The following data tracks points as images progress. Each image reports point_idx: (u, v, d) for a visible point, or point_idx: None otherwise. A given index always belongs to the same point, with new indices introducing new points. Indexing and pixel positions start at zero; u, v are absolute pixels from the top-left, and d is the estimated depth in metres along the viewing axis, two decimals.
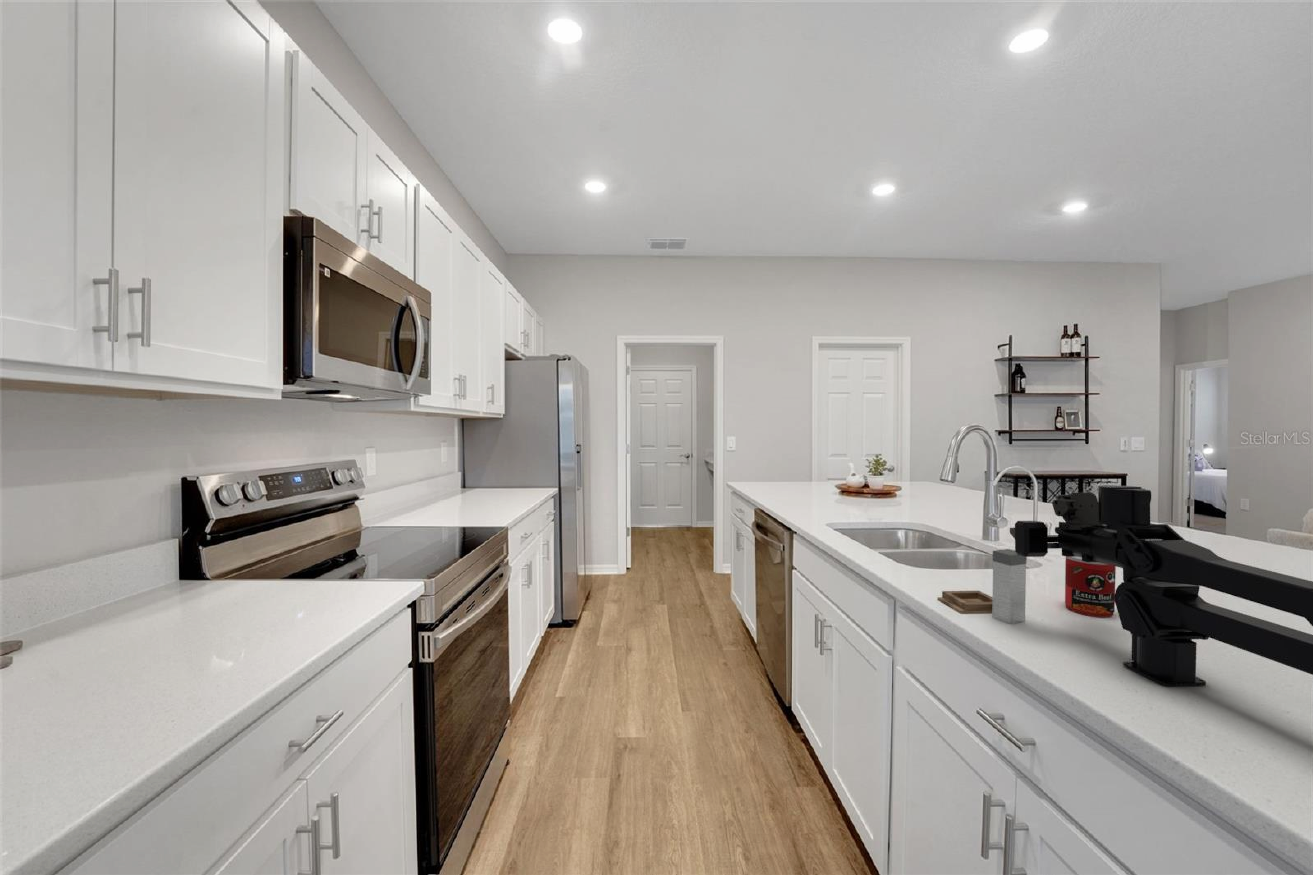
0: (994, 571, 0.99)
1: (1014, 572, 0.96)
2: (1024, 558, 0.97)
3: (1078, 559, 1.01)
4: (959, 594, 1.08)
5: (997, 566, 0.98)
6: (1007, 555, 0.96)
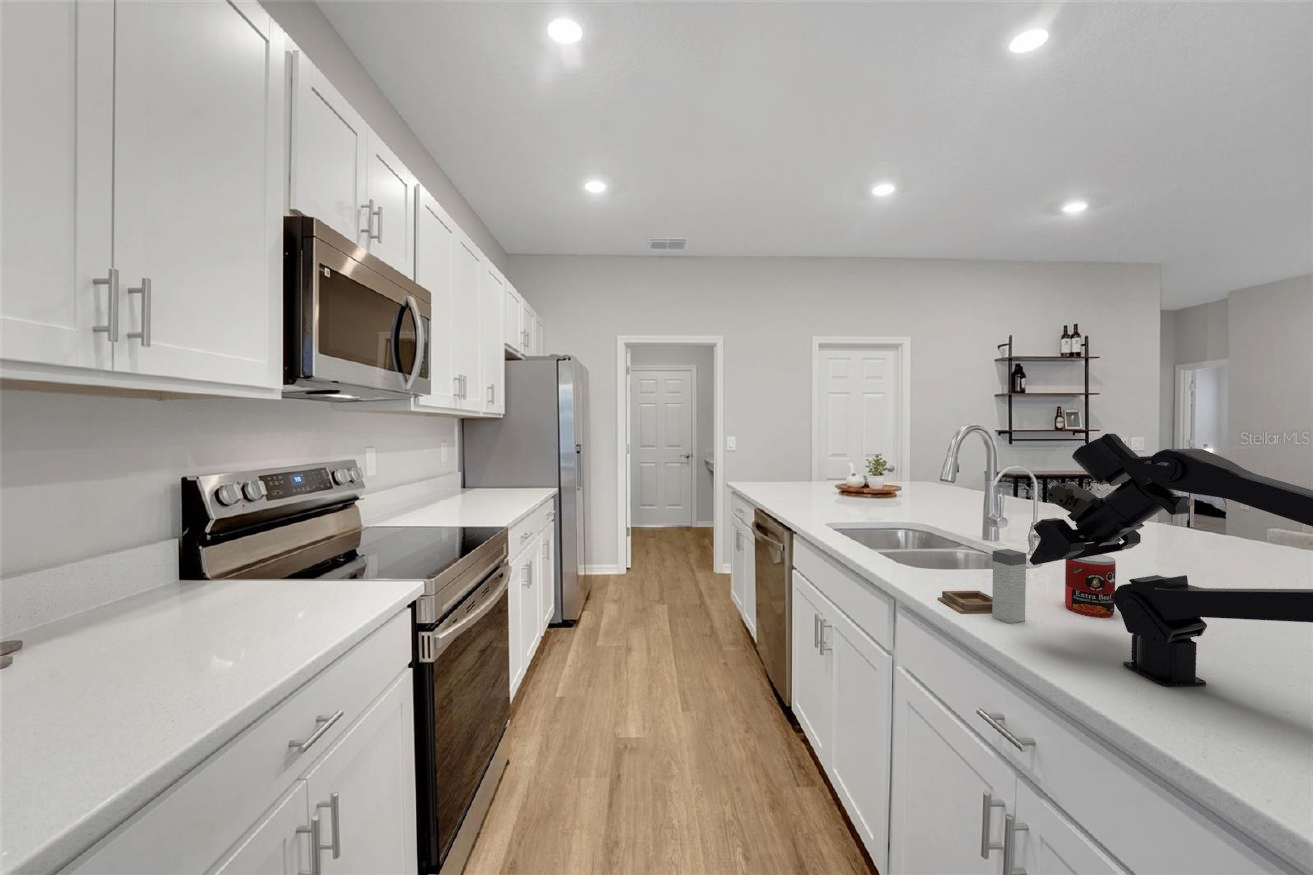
0: (994, 571, 0.99)
1: (1014, 572, 0.96)
2: (1024, 558, 0.97)
3: (1078, 559, 1.01)
4: (959, 594, 1.08)
5: (997, 566, 0.98)
6: (1007, 555, 0.96)
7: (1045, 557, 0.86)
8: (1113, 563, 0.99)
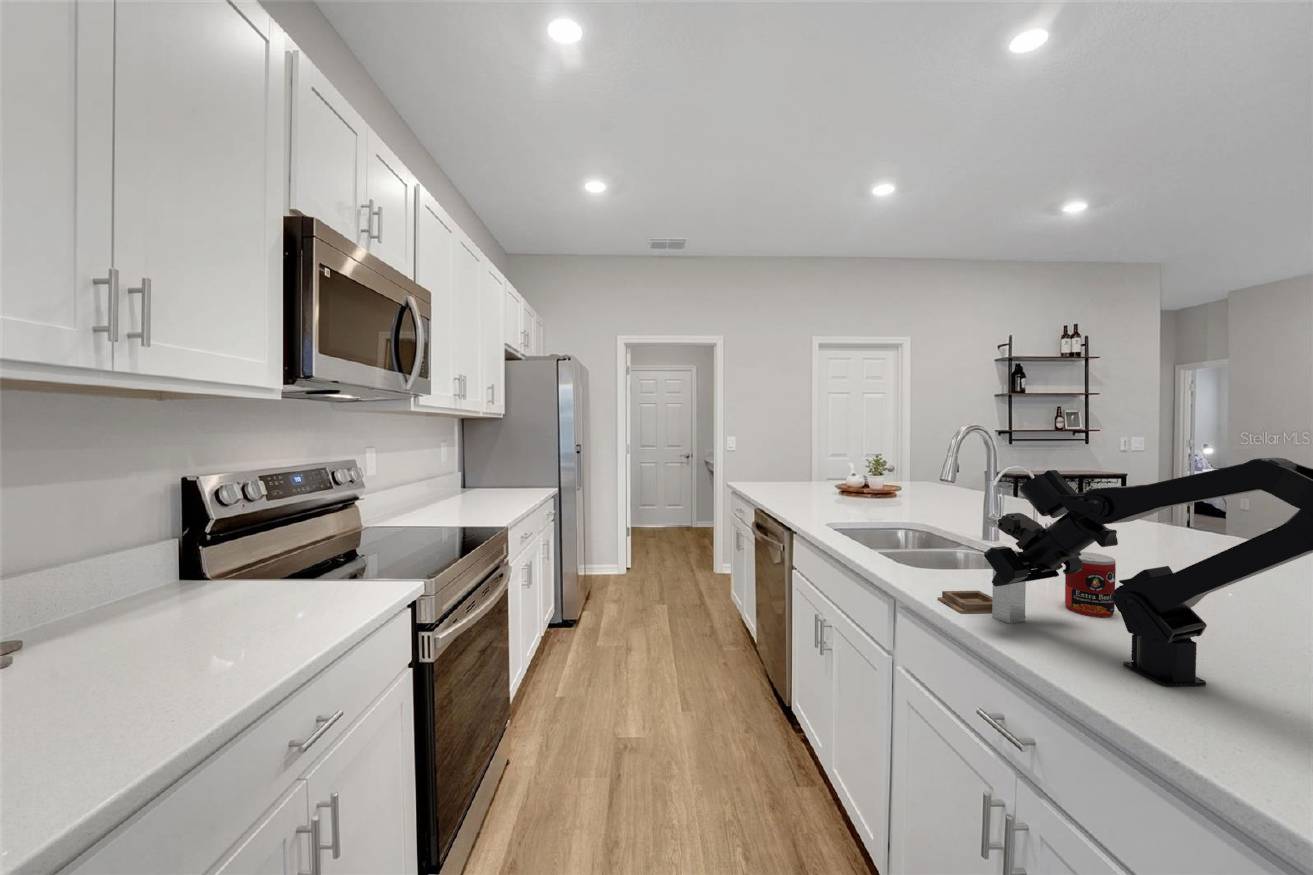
0: (994, 571, 0.99)
1: None
2: None
3: None
4: (959, 594, 1.08)
5: None
6: None
7: None
8: (1113, 563, 0.99)
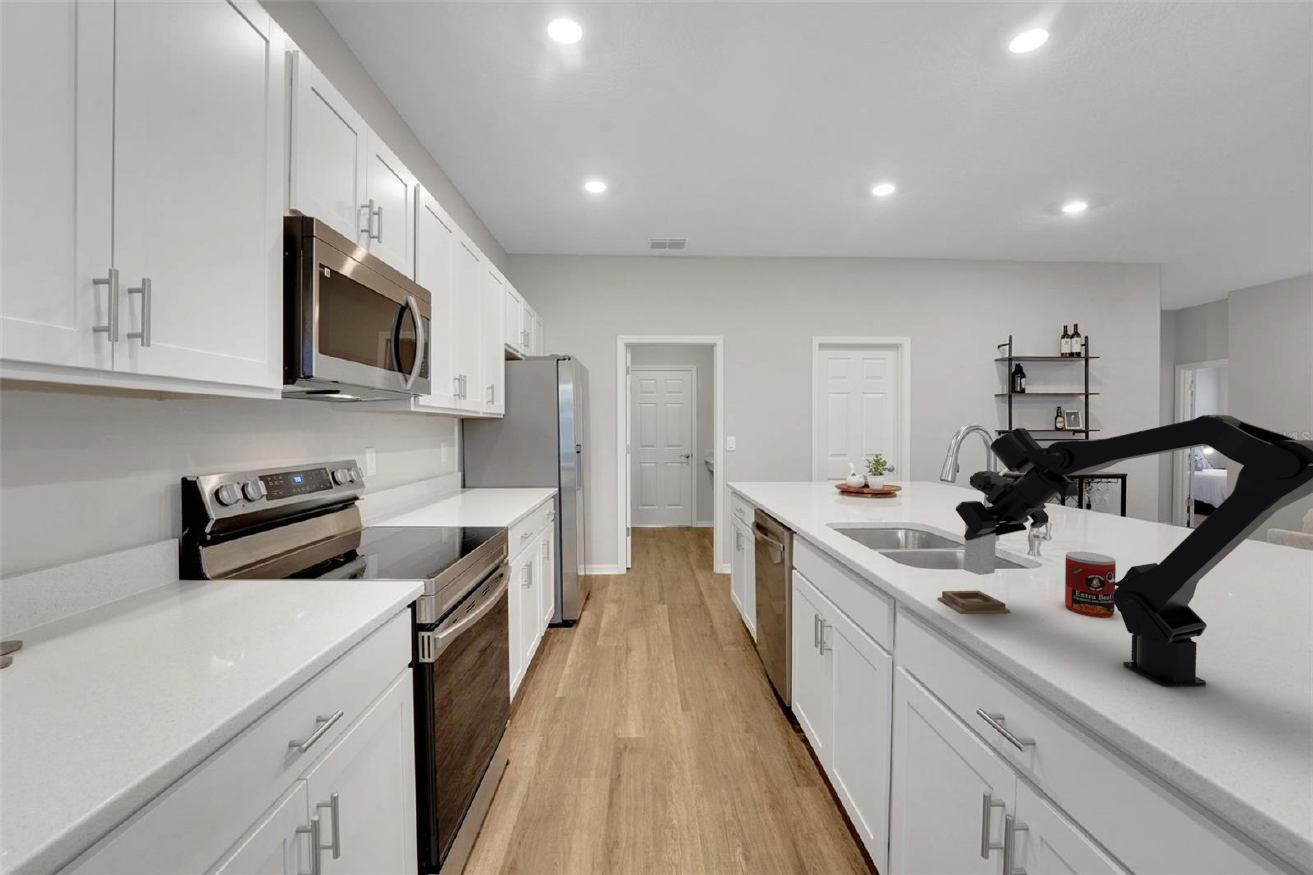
0: (966, 526, 1.04)
1: None
2: None
3: (1078, 559, 1.01)
4: (959, 594, 1.08)
5: None
6: None
7: (975, 534, 1.01)
8: (1113, 563, 0.99)
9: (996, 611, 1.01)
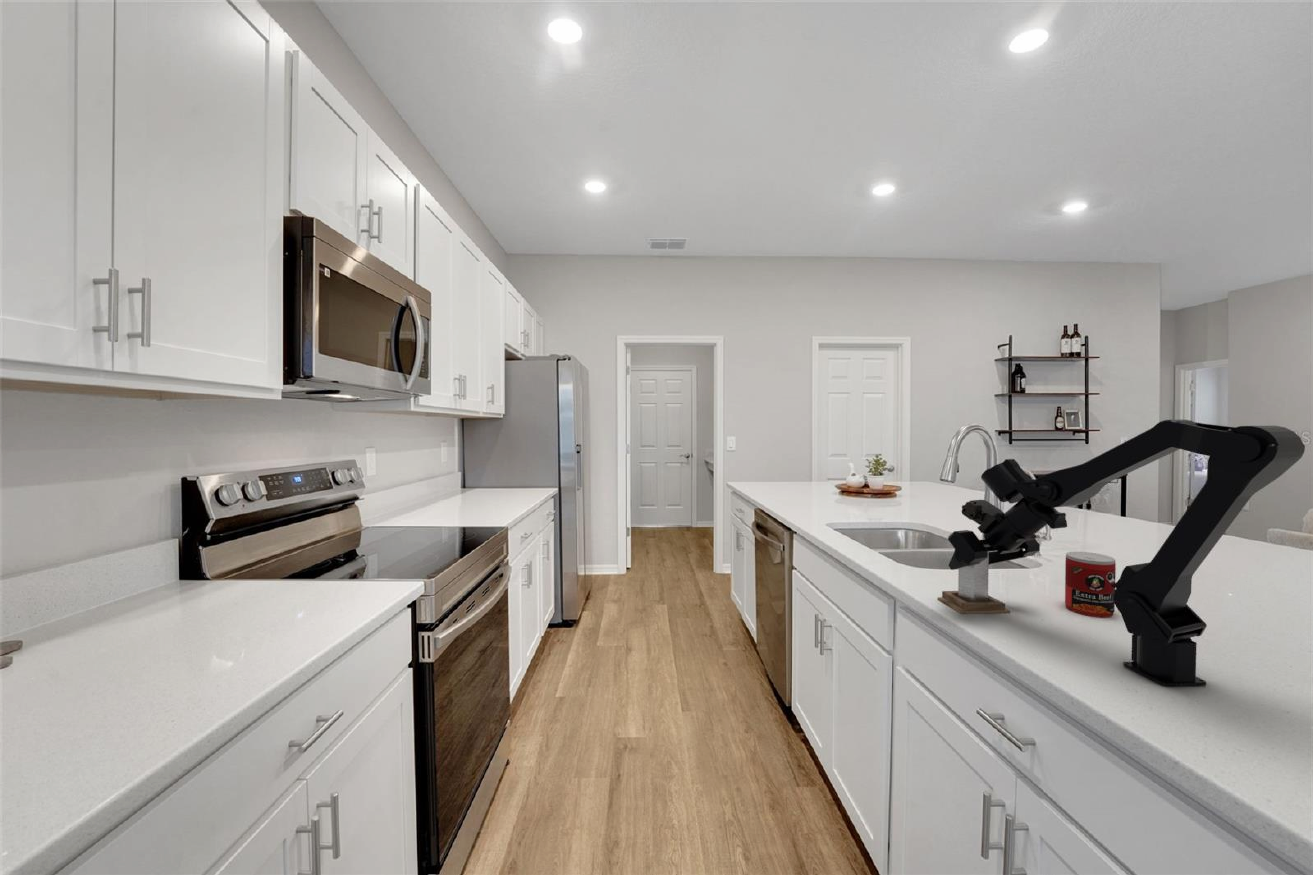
0: None
1: None
2: None
3: (1078, 559, 1.01)
4: None
5: None
6: None
7: (959, 563, 1.02)
8: (1113, 563, 0.99)
9: (996, 611, 1.01)
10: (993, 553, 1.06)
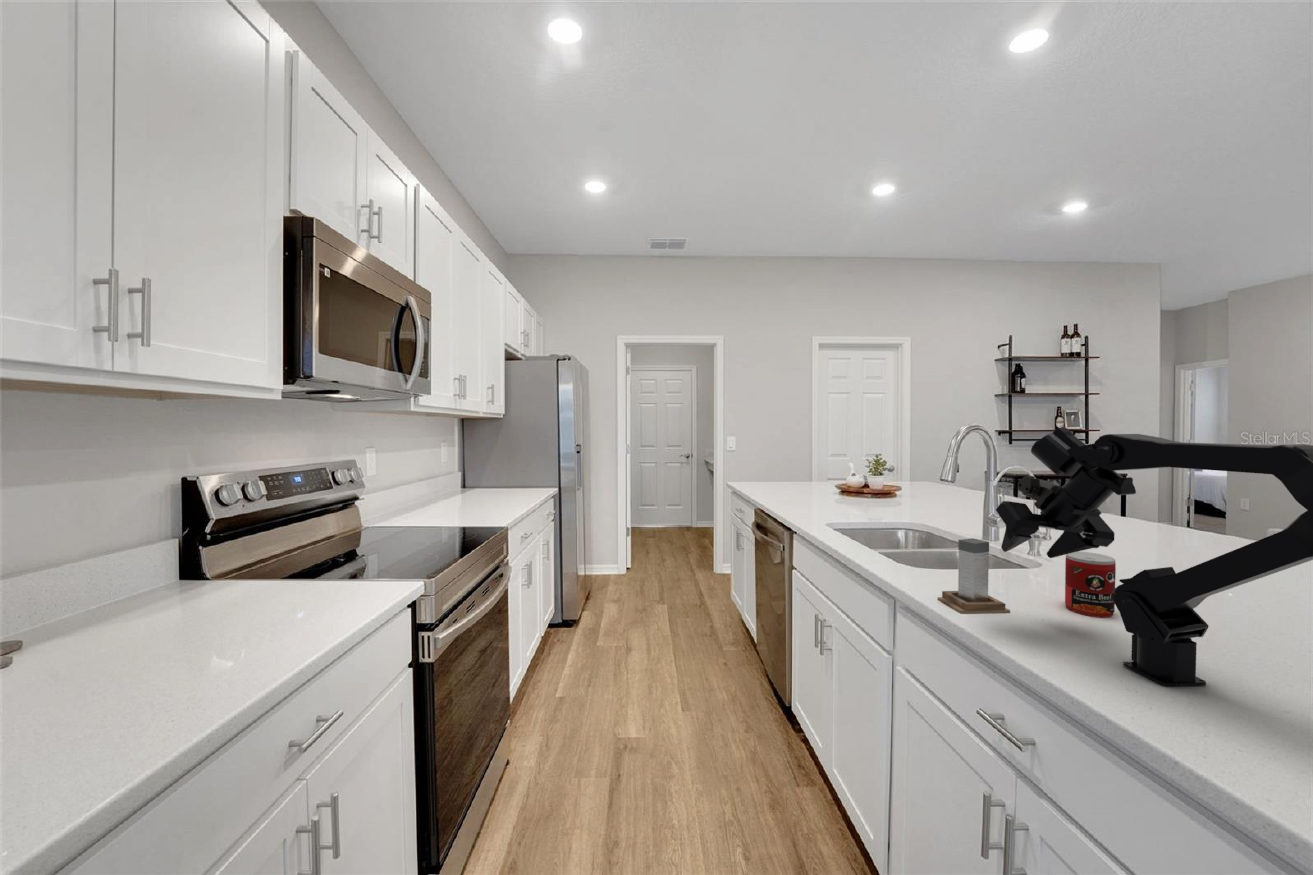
0: (960, 559, 1.06)
1: (978, 559, 1.03)
2: (987, 546, 1.04)
3: (1078, 559, 1.01)
4: None
5: (962, 554, 1.05)
6: (971, 543, 1.03)
7: (1010, 541, 0.93)
8: (1113, 563, 0.99)
9: (996, 611, 1.01)
10: (1060, 543, 0.95)
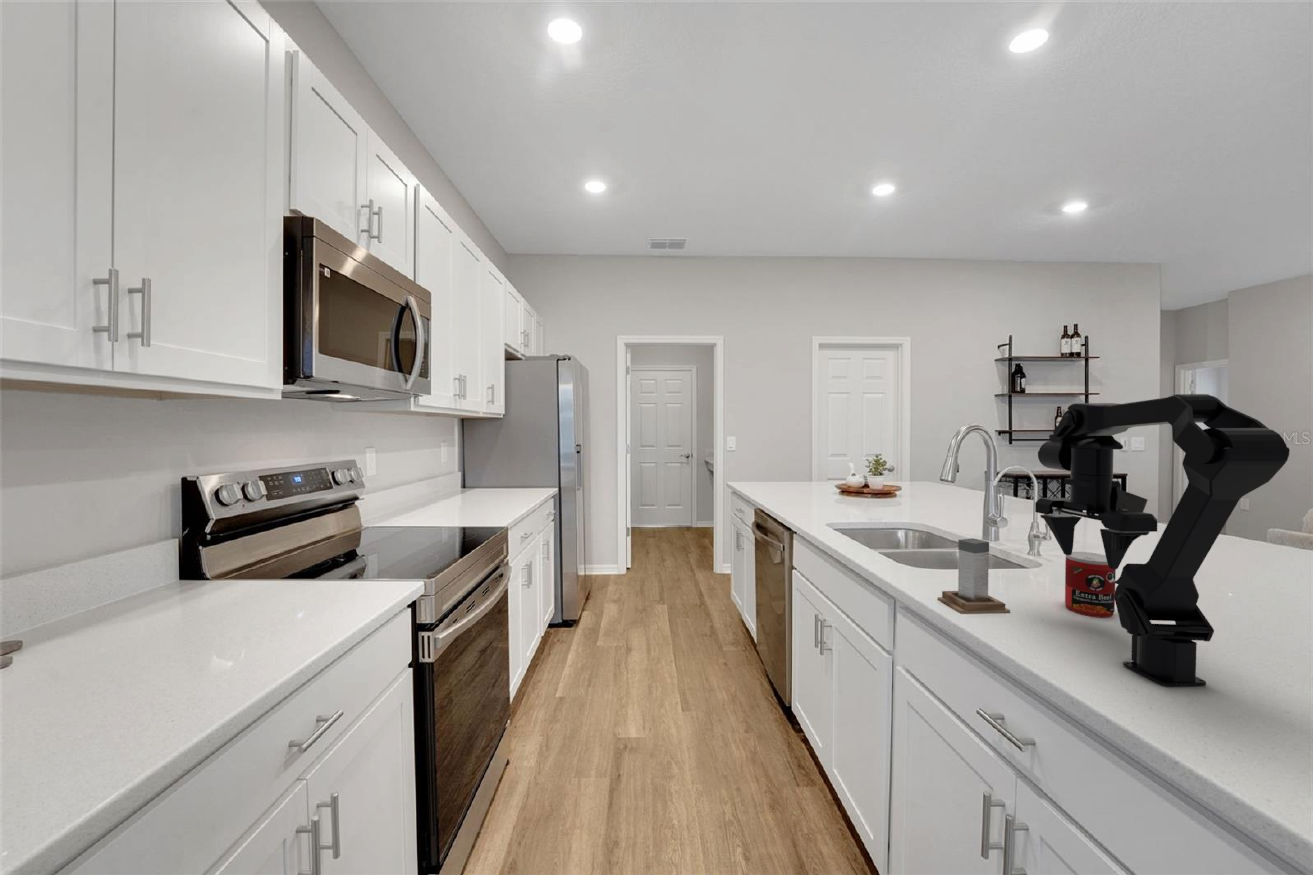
0: (960, 559, 1.06)
1: (978, 559, 1.03)
2: (987, 546, 1.04)
3: (1078, 559, 1.01)
4: None
5: (962, 554, 1.05)
6: (971, 543, 1.03)
7: None
8: None
9: (996, 611, 1.01)
10: None
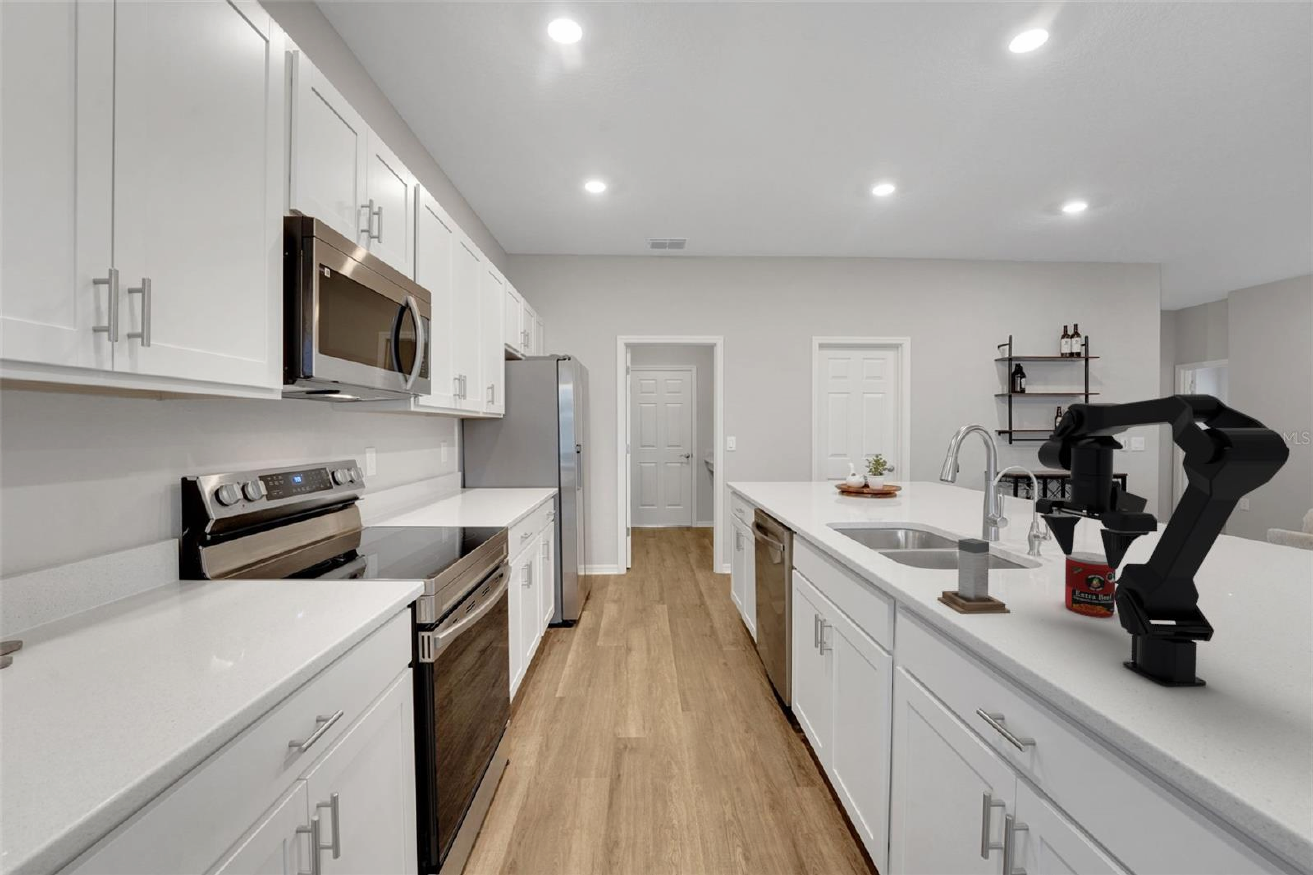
0: (960, 559, 1.06)
1: (978, 559, 1.03)
2: (987, 546, 1.04)
3: (1078, 559, 1.01)
4: None
5: (962, 554, 1.05)
6: (971, 543, 1.03)
7: None
8: None
9: (996, 611, 1.01)
10: None
